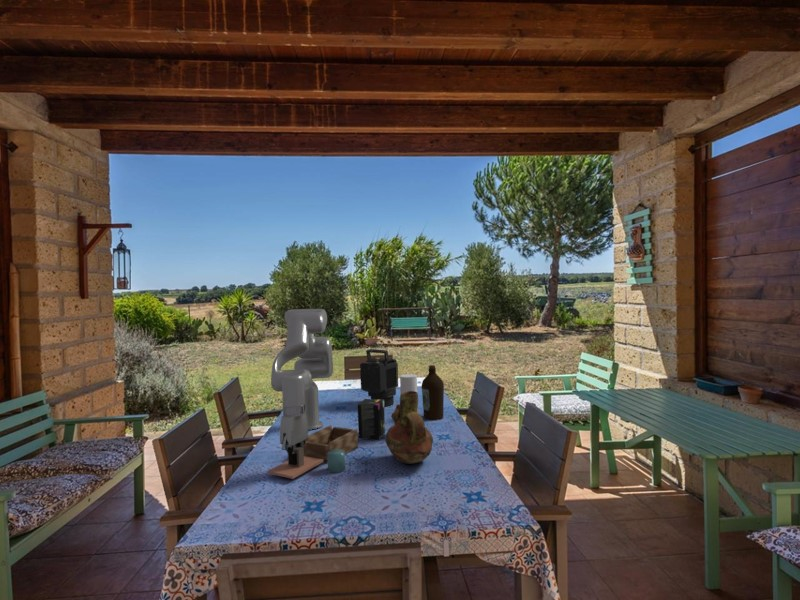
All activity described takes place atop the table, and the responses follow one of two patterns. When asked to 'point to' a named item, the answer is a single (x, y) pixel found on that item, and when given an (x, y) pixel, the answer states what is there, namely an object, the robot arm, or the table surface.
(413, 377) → the cylindrical container
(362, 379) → the lantern
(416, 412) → the ceramic vessel
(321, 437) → the box
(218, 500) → the table surface
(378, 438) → the tampon box
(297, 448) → the brown piece
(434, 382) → the dark brown bottle
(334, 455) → the teal rounded piece
